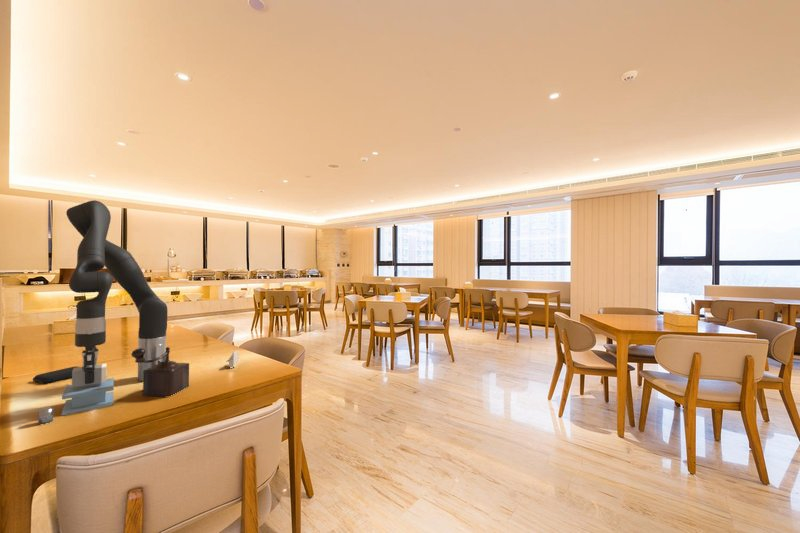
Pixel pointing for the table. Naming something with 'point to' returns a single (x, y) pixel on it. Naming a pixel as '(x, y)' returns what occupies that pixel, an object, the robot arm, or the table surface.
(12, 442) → the table surface
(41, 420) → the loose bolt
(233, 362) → the architectural model
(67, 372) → the carrying case or bag
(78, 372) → the block
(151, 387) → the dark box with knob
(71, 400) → the stand
